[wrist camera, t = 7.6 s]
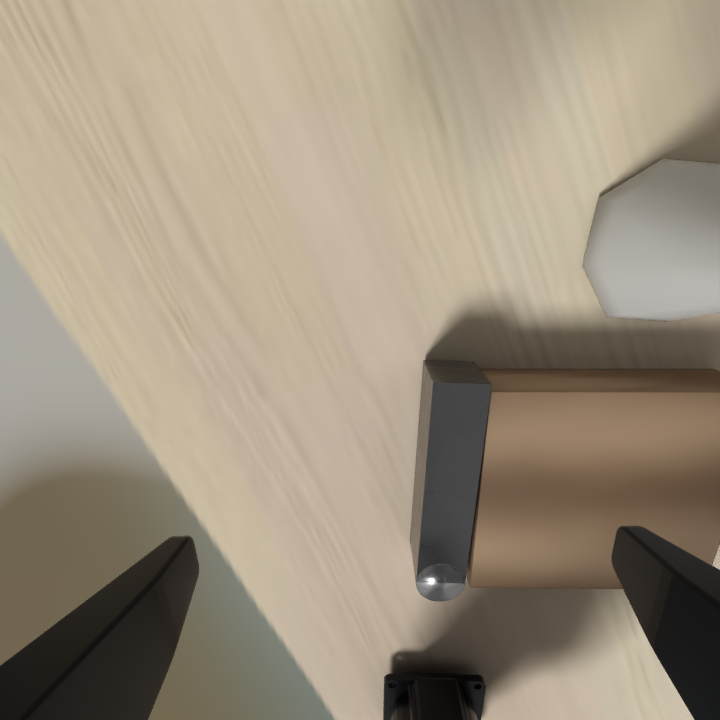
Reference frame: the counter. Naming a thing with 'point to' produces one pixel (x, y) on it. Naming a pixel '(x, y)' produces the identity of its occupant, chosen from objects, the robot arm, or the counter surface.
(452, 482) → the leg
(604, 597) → the counter surface
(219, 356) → the counter surface
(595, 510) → the tan square panel
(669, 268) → the flask
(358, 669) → the counter surface
